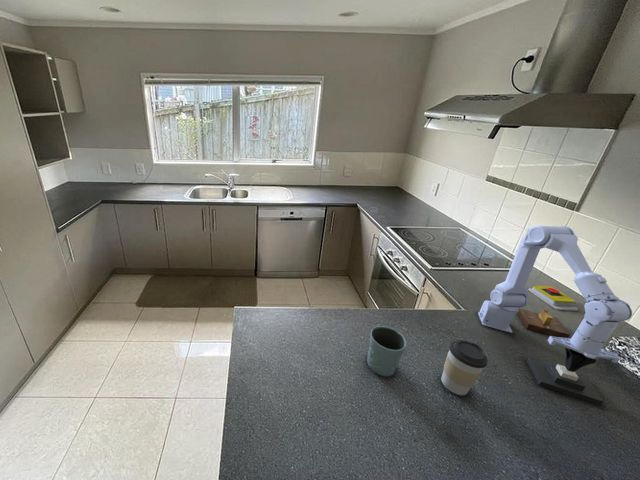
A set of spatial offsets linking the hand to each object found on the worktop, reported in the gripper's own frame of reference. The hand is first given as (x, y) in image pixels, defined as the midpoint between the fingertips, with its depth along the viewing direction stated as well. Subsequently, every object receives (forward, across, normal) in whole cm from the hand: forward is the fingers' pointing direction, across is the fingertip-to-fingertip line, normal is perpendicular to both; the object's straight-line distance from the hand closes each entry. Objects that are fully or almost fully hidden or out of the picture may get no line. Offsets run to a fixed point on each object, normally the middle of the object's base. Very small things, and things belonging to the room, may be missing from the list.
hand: (569, 369), depth 86 cm
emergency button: (+6, +17, +55) cm, 58 cm away
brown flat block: (+6, +5, +30) cm, 31 cm away
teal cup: (+6, -52, -20) cm, 56 cm away
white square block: (+2, 0, 0) cm, 2 cm away
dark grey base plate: (+6, 0, 0) cm, 6 cm away
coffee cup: (+6, -31, -17) cm, 36 cm away
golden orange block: (+3, +5, +30) cm, 31 cm away
